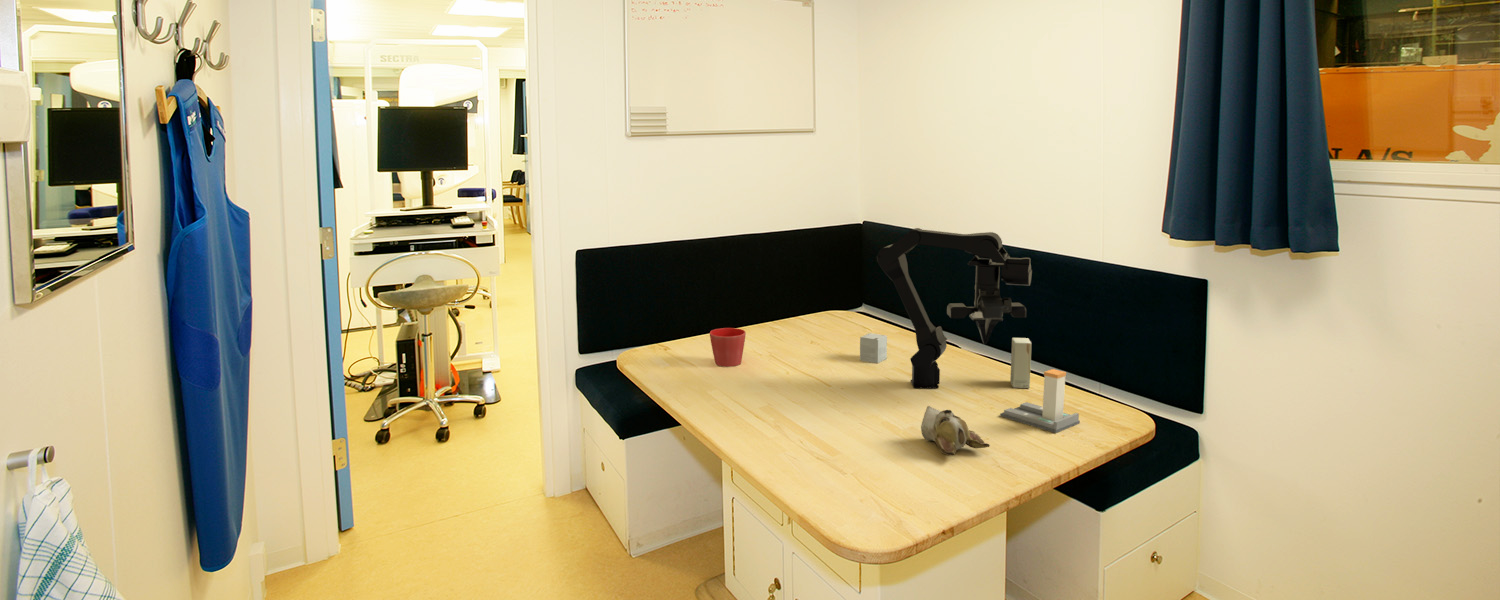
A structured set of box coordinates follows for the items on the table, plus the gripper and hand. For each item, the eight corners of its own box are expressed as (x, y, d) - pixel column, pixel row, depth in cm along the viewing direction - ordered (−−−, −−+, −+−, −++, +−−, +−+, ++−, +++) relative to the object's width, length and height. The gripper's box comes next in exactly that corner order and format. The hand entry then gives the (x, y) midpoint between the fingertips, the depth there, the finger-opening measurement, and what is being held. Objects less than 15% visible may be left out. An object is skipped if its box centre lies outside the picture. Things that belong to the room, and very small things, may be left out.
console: (999, 416, 190) (1000, 406, 189) (1024, 407, 196) (1024, 397, 195) (1055, 433, 178) (1056, 423, 178) (1079, 423, 184) (1080, 413, 184)
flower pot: (753, 361, 240) (752, 329, 238) (733, 370, 231) (732, 338, 229) (724, 356, 246) (723, 325, 244) (703, 365, 237) (702, 333, 235)
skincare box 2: (1030, 388, 209) (1032, 343, 207) (1012, 388, 210) (1014, 343, 208) (1026, 381, 215) (1029, 337, 213) (1009, 380, 216) (1011, 336, 214)
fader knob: (1041, 419, 184) (1044, 371, 182) (1050, 416, 186) (1052, 369, 184) (1054, 423, 182) (1057, 375, 180) (1063, 420, 184) (1066, 372, 182)
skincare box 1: (868, 356, 243) (869, 332, 242) (887, 358, 240) (887, 335, 238) (859, 360, 238) (859, 336, 237) (878, 363, 235) (878, 339, 233)
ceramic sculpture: (947, 394, 179) (994, 419, 166) (945, 430, 181) (991, 457, 168) (908, 403, 174) (952, 428, 161) (906, 439, 177) (950, 468, 163)
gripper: (956, 289, 194) (954, 352, 197) (1034, 288, 193) (1031, 351, 196) (947, 281, 205) (945, 340, 208) (1021, 280, 204) (1018, 340, 207)
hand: (984, 343), depth 205 cm, fingers closed
